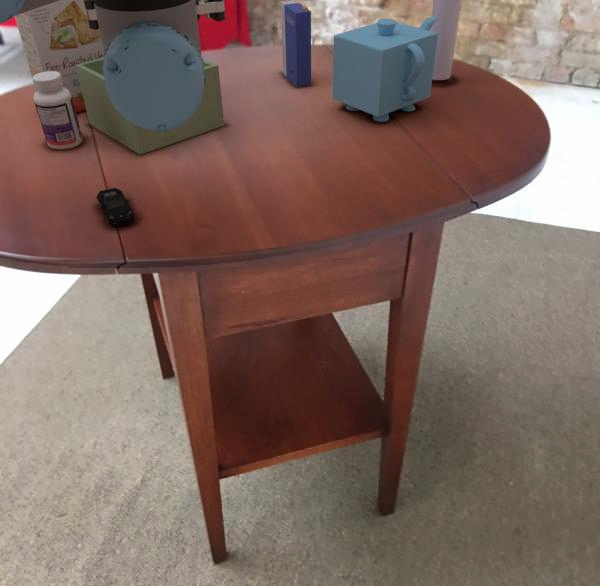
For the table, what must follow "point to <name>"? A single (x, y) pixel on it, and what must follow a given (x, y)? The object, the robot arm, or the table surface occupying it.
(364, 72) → the teapot
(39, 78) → the pill bottle
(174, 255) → the table surface
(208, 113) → the open storage bin
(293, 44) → the walkman
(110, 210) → the toy car
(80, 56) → the cracker box
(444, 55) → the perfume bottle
